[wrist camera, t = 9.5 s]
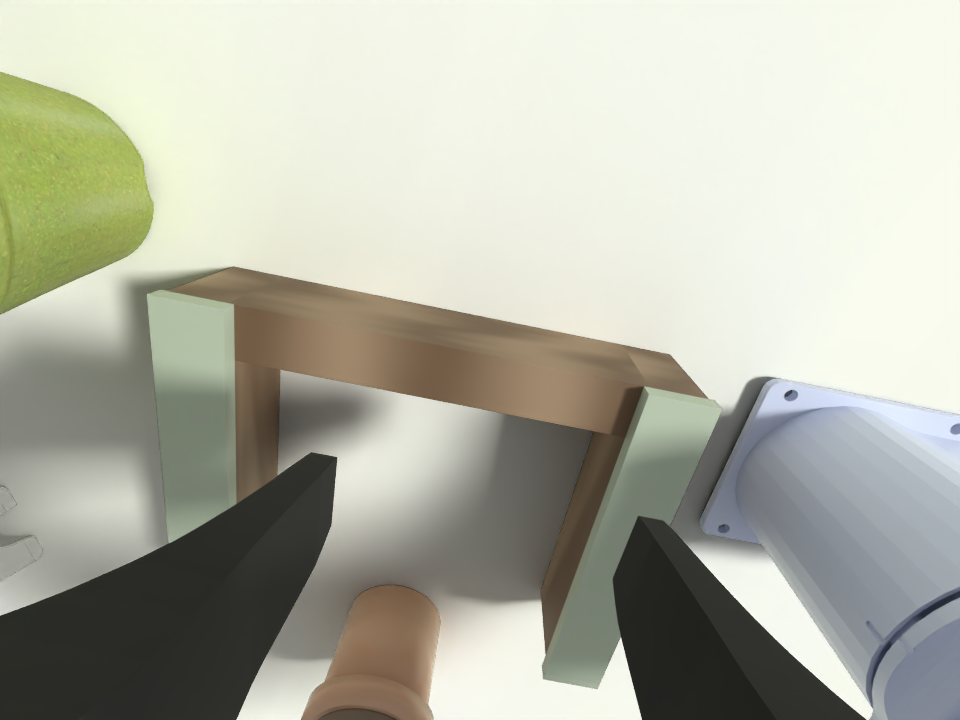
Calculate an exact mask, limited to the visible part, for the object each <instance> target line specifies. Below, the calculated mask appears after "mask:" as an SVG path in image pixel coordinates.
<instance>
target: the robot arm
mask: <svg viewBox="0 0 960 720" xmlns="http://www.w3.org/2000/svg"><path fill="white" fill-rule="evenodd" d="M789 390H792V393H791V394H790V395H789V396H787V397H784V395H785V393H786V392H787V391H789ZM953 425H955V426H954V427H953V428H951V427H952V426H953ZM336 466H337V457H333V456H328V455H323V454H317V453H312V452H311V453H310V454H308V455H306V456H305V457H304V458H302V459H301V460H299V461H298V462H296V463H295V464H294V465H292V466H291V467H289V468H288V469H287V470H285V471H284V472H282V473H281V474H280V475H278V476H277V477H275V478H274V479H272V480H271V481H270V482H268V483H267V484H265V485H264V486H262V487H261V488H259V489H258V490H256V491H255V492H253V493H252V494H250V495H249V496H247V497H246V498H244V499H243V500H241V501H240V502H238V503H237V504H235V505H234V506H232V507H231V508H229V509H227V510H226V511H224V512H222V513H221V514H219V515H217V516H216V517H214V518H212V519H211V520H209V521H208V522H206V523H204V524H203V525H201V526H199V527H198V528H196V529H194V530H192V531H191V532H189V533H187V534H185V535H184V536H182V537H180V538H178V539H176V540H175V541H173V542H171V543H169V544H167V545H165V546H163V547H161V548H159V549H157V550H155V551H153V552H151V553H149V554H147V555H145V556H143V557H141V558H139V559H137V560H135V561H133V562H131V563H128V564H126V565H124V566H122V567H119V568H117V569H115V570H113V571H110V572H108V573H106V574H103V575H101V576H99V577H97V578H94V579H92V580H90V581H88V582H85V583H83V584H81V585H79V586H76V587H74V588H72V589H69V590H67V591H64V592H62V593H59V594H57V595H54V596H52V597H49V598H47V599H44V600H41V601H39V602H36V603H34V604H31V605H29V606H26V607H23V608H20V609H18V610H15V611H12V612H10V613H7V614H4V615H1V616H0V720H236V719H237V717H238V715H239V712H240V710H241V708H242V706H243V703H244V701H245V699H246V696H247V694H248V692H249V690H250V687H251V685H252V683H253V681H254V679H255V677H256V675H257V673H258V671H259V669H260V667H261V665H262V663H263V661H264V659H265V657H266V655H267V654H268V652H269V650H270V648H271V646H272V644H273V643H274V641H275V639H276V637H277V635H278V633H279V632H280V630H281V628H282V626H283V624H284V622H285V621H286V619H287V617H288V615H289V613H290V611H291V610H292V608H293V606H294V604H295V602H296V600H297V599H298V597H299V595H300V593H301V591H302V589H303V587H304V586H305V584H306V582H307V580H308V578H309V576H310V574H311V572H312V571H313V569H314V567H315V565H316V562H317V560H318V557H319V555H320V552H321V550H322V548H323V545H324V543H325V540H326V537H327V535H328V532H329V530H330V527H331V523H332V511H333V500H334V488H335V477H336ZM699 524H700V527H701V528H702V530H703V531H704V532H705V533H707V534H710V535H715V536H720V537H726V538H731V539H736V540H741V541H746V542H751V543H757V544H762V545H763V547H764V548H765V550H766V551H767V553H768V554H769V556H770V557H771V559H772V560H773V561H774V563H775V564H776V566H777V567H778V569H779V570H780V572H781V573H782V575H783V576H784V578H785V579H786V581H787V582H788V584H789V585H790V587H791V588H792V590H793V591H794V593H795V594H796V596H797V597H798V599H799V600H800V601H801V603H802V604H803V606H804V607H805V609H806V610H807V612H808V613H809V615H810V616H811V618H812V619H813V621H814V622H815V624H816V625H817V627H818V628H819V630H820V631H821V633H822V634H823V636H824V637H825V639H826V640H827V641H828V643H829V644H830V646H831V647H832V649H833V650H834V652H835V653H836V655H837V656H838V658H839V659H840V661H841V662H842V664H843V665H844V667H845V668H846V670H847V671H848V673H849V674H850V676H851V677H852V678H853V680H854V681H855V683H856V684H857V686H858V687H859V689H860V690H861V692H862V693H863V695H864V696H865V698H866V699H867V701H868V702H869V704H870V705H871V707H872V708H873V713H872V716H871V718H870V719H869V720H960V415H958V414H953V413H948V412H943V411H938V410H933V409H928V408H923V407H918V406H913V405H908V404H903V403H898V402H893V401H888V400H883V399H878V398H874V397H869V396H864V395H859V394H854V393H849V392H844V391H839V390H834V389H829V388H824V387H819V386H814V385H809V384H804V383H799V382H794V381H789V380H784V379H772V380H769V381H768V382H767V383H765V385H764V386H763V388H762V390H761V392H760V394H759V396H758V398H757V400H756V402H755V405H754V407H753V409H752V411H751V413H750V415H749V417H748V419H747V421H746V423H745V426H744V428H743V430H742V432H741V434H740V436H739V438H738V440H737V442H736V444H735V447H734V449H733V451H732V453H731V455H730V457H729V459H728V461H727V463H726V466H725V468H724V470H723V472H722V474H721V476H720V478H719V480H718V482H717V484H716V487H715V489H714V491H713V493H712V495H711V497H710V499H709V501H708V503H707V506H706V508H705V510H704V512H703V514H702V516H701V518H700V521H699ZM723 524H725V525H724V526H722V527H719V526H720V525H723ZM612 580H613V589H614V598H615V606H616V613H617V620H618V626H619V630H620V634H621V638H622V642H623V646H624V650H625V654H626V658H627V662H628V666H629V670H630V674H631V678H632V682H633V686H634V690H635V694H636V698H637V701H638V705H639V709H640V713H641V717H642V720H866V719H865V718H864V717H862V716H861V715H860V714H859V713H857V712H856V711H855V710H854V709H852V708H851V707H850V706H849V705H848V704H847V703H845V702H844V701H843V700H842V699H841V698H839V697H838V696H837V695H836V694H835V693H834V692H832V691H831V690H830V689H829V688H828V687H827V686H826V685H824V684H823V683H822V682H821V681H820V680H819V679H818V678H817V677H816V676H814V675H813V674H812V673H811V672H810V671H809V670H808V669H807V668H805V667H804V666H803V665H802V664H801V663H800V662H799V661H798V660H797V659H795V658H794V657H793V656H792V655H791V654H790V653H789V652H788V651H787V650H786V649H785V648H784V647H783V646H782V645H781V644H780V643H779V642H777V641H776V640H775V639H774V638H773V637H772V636H771V635H770V634H769V633H768V632H767V631H766V630H765V629H764V628H763V627H762V626H761V625H760V624H759V623H758V622H757V621H756V620H755V619H754V618H753V617H752V616H751V615H750V614H749V612H748V611H747V610H746V609H745V608H744V607H743V606H742V605H741V604H740V603H739V602H738V601H737V600H736V599H735V598H734V597H733V596H732V595H731V594H730V592H729V591H728V590H727V589H726V588H725V587H724V586H723V585H722V584H721V583H720V582H719V581H718V579H717V578H716V577H715V576H714V575H713V574H712V573H711V572H710V571H709V570H708V568H707V567H706V566H705V565H704V564H703V563H702V562H701V561H700V560H699V558H698V557H697V556H696V555H695V554H694V553H693V552H692V551H691V549H690V548H689V547H688V546H687V545H686V544H685V543H684V542H683V541H682V539H681V538H680V537H679V536H678V535H677V534H676V533H675V532H674V531H673V530H672V529H671V528H670V527H669V526H668V525H667V524H666V523H665V522H664V521H663V520H658V519H653V518H648V517H643V516H638V517H637V520H636V522H635V525H634V527H633V530H632V532H631V534H630V537H629V539H628V542H627V544H626V547H625V549H624V552H623V554H622V557H621V559H620V561H619V564H618V566H617V569H616V571H615V574H614V576H613V579H612Z"/></svg>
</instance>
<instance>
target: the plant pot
mask: <svg viewBox="0 0 960 720" xmlns="http://www.w3.org/2000/svg"><path fill="white" fill-rule="evenodd" d="M152 219H153V202H152V200H151V198H150V195H149V192H148V189H147V184H146V180H145V174H144V164H143V161H142V158H141V156H140V154H139V153H138V151H137V149H136V148H135V146H134V145H133V143H132V142H131V140H130V139H129V138H128V136H127V135H126V134H125V133H124V132H123V131H122V129H121V128H120V127H119V126H118V125H117V124H116V123H115V122H114V121H113V120H112V119H111V118H110V117H109V116H107V115H106V114H105V113H104V112H102V111H101V110H100V109H98V108H97V107H95V106H94V105H92V104H90V103H89V102H87V101H85V100H83V99H81V98H79V97H76V96H74V95H71V94H68V93H65V92H62V91H59V90H56V89H53V88H50V87H47V86H43V85H40V84H37V83H34V82H31V81H28V80H25V79H21V78H18V77H15V76H12V75H9V74H6V73H3V72H0V314H2V313H5V312H7V311H9V310H11V309H13V308H15V307H17V306H19V305H22V304H24V303H26V302H28V301H30V300H32V299H34V298H37V297H39V296H41V295H43V294H45V293H47V292H50V291H52V290H54V289H56V288H58V287H60V286H63V285H65V284H67V283H69V282H71V281H74V280H76V279H78V278H80V277H83V276H85V275H87V274H90V273H92V272H94V271H97V270H99V269H101V268H103V267H105V266H108V265H110V264H112V263H114V262H116V261H118V260H121V259H123V258H125V257H127V256H128V255H130V254H131V253H133V252H134V251H135V250H136V249H137V248H138V247H139V246H140V245H141V244H142V242H143V241H144V239H145V238H146V236H147V234H148V232H149V229H150V226H151V223H152Z"/></svg>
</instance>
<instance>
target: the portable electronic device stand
mask: <svg viewBox="0 0 960 720" xmlns="http://www.w3.org/2000/svg"><path fill="white" fill-rule="evenodd" d="M15 505H17V504H16V502H15V500H14V499H13V497H12V495H11V493H10V492H9V490H8V489H7V488H5V487H3V486H0V515H1V514H3V513H4V512H6V511H8V510H9V509H11V508H12V507H14V506H15ZM41 555H42V547H41V546H40V544H39V542H38V541H37V539H36V537H35V536H28V537H26V538H24V539H21V540H19V541H17V542H14V543H12V544H9V545H7V546H0V581H2V580H4V579H5V578H7V577H9V576H11V575H12V574H14V573H16V572H17V571H19V570H21V569H22V568H24V567H26V566H27V565H29V564H31V563H32V562H34V561H36V560H38V559H39V558H40V556H41Z"/></svg>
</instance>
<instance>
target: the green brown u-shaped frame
mask: <svg viewBox="0 0 960 720" xmlns="http://www.w3.org/2000/svg"><path fill="white" fill-rule="evenodd" d="M147 304H148V316H149V327H150V339H151V350H152V362H153V373H154V385H155V396H156V408H157V419H158V431H159V443H160V454H161V466H162V477H163V489H164V500H165V512H166V523H167V535H168V544H169V543H171V542H173V541H175V540H176V539H178V538H180V537H182V536H184V535H185V534H187V533H189V532H191V531H192V530H194V529H196V528H198V527H199V526H201V525H203V524H204V523H206V522H208V521H209V520H211V519H212V518H214V517H216V516H217V515H219V514H221V513H222V512H224V511H226V510H227V509H229V508H231V507H232V506H234V505H235V504H237V503H238V502H240V501H241V500H243V499H244V498H246V497H247V496H249V495H250V494H252V493H253V492H255V491H256V490H258V489H259V488H261V487H262V486H264V485H265V484H267V483H268V482H270V481H271V480H272V479H274V478H275V477H277V464H278V429H279V395H280V369H281V370H286V371H291V372H296V373H301V374H306V375H311V376H316V377H321V378H326V379H331V380H336V381H341V382H347V383H352V384H357V385H362V386H367V387H372V388H377V389H382V390H387V391H392V392H397V393H402V394H407V395H412V396H418V397H423V398H428V399H433V400H438V401H443V402H448V403H453V404H458V405H463V406H468V407H473V408H478V409H483V410H489V411H494V412H499V413H504V414H509V415H514V416H519V417H524V418H529V419H534V420H539V421H544V422H549V423H554V424H560V425H565V426H570V427H575V428H580V429H585V430H590V431H594V432H593V435H592V438H591V441H590V444H589V447H588V450H587V453H586V456H585V459H584V462H583V465H582V468H581V471H580V474H579V477H578V480H577V483H576V486H575V489H574V492H573V495H572V498H571V501H570V504H569V507H568V510H567V513H566V516H565V519H564V522H563V525H562V528H561V531H560V534H559V537H558V540H557V543H556V547H555V550H554V553H553V556H552V559H551V562H550V565H549V568H548V571H547V574H546V577H545V580H544V583H543V586H542V589H541V601H542V614H543V627H544V640H545V653H546V656H545V659H544V662H543V664H542V671H543V679H545V680H551V681H556V682H562V683H567V684H572V685H578V686H583V687H589V688H594V689H598V687H599V684H600V682H601V680H602V678H603V675H604V673H605V671H606V669H607V666H608V664H609V662H610V660H611V657H612V655H613V653H614V651H615V648H616V646H617V644H618V642H619V640H620V637H621V634H620V630H619V626H618V620H617V613H616V606H615V598H614V589H613V580H612V579H613V576H614V574H615V571H616V569H617V566H618V564H619V561H620V559H621V557H622V554H623V552H624V549H625V547H626V544H627V542H628V539H629V537H630V534H631V532H632V530H633V527H634V525H635V522H636V520H637V517H638V516H643V517H648V518H653V519H658V520H663V521H664V522H665V523H666V524H667V525H668V526H669V527H670V525H671V523H672V521H673V519H674V517H675V514H676V512H677V510H678V508H679V505H680V503H681V501H682V499H683V496H684V494H685V492H686V490H687V487H688V485H689V483H690V481H691V478H692V476H693V474H694V472H695V470H696V467H697V465H698V463H699V461H700V458H701V456H702V454H703V452H704V449H705V447H706V445H707V443H708V440H709V438H710V436H711V434H712V432H713V429H714V427H715V425H716V423H717V420H718V418H719V416H720V414H721V411H722V408H721V407H720V406H719V405H718V403H717V402H716V401H715V400H710V399H708V398H707V396H706V395H705V394H704V393H703V392H702V391H701V390H700V388H699V387H698V386H697V385H696V384H695V383H694V382H693V380H692V379H691V378H690V377H689V376H688V375H687V373H686V372H685V371H684V370H683V369H682V368H681V367H680V365H679V364H678V363H677V362H676V361H675V360H674V359H673V357H672V356H671V355H669V354H664V353H659V352H654V351H649V350H645V349H640V348H635V347H630V346H625V345H620V344H615V343H610V342H605V341H600V340H595V339H590V338H585V337H580V336H575V335H570V334H565V333H560V332H555V331H550V330H545V329H540V328H535V327H530V326H525V325H520V324H516V323H511V322H506V321H501V320H496V319H491V318H486V317H481V316H476V315H471V314H466V313H461V312H456V311H451V310H446V309H441V308H436V307H431V306H426V305H421V304H416V303H411V302H406V301H401V300H396V299H391V298H386V297H382V296H377V295H372V294H367V293H362V292H357V291H352V290H347V289H342V288H337V287H332V286H327V285H322V284H317V283H312V282H307V281H302V280H297V279H292V278H287V277H282V276H277V275H272V274H267V273H262V272H257V271H252V270H248V269H243V268H238V267H231V268H228V269H226V270H223V271H220V272H217V273H214V274H212V275H209V276H206V277H203V278H201V279H198V280H195V281H192V282H189V283H187V284H184V285H181V286H178V287H175V288H173V289H170V290H167V291H164V290H157V291H155V292H152V293H149V294H147Z"/></svg>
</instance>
